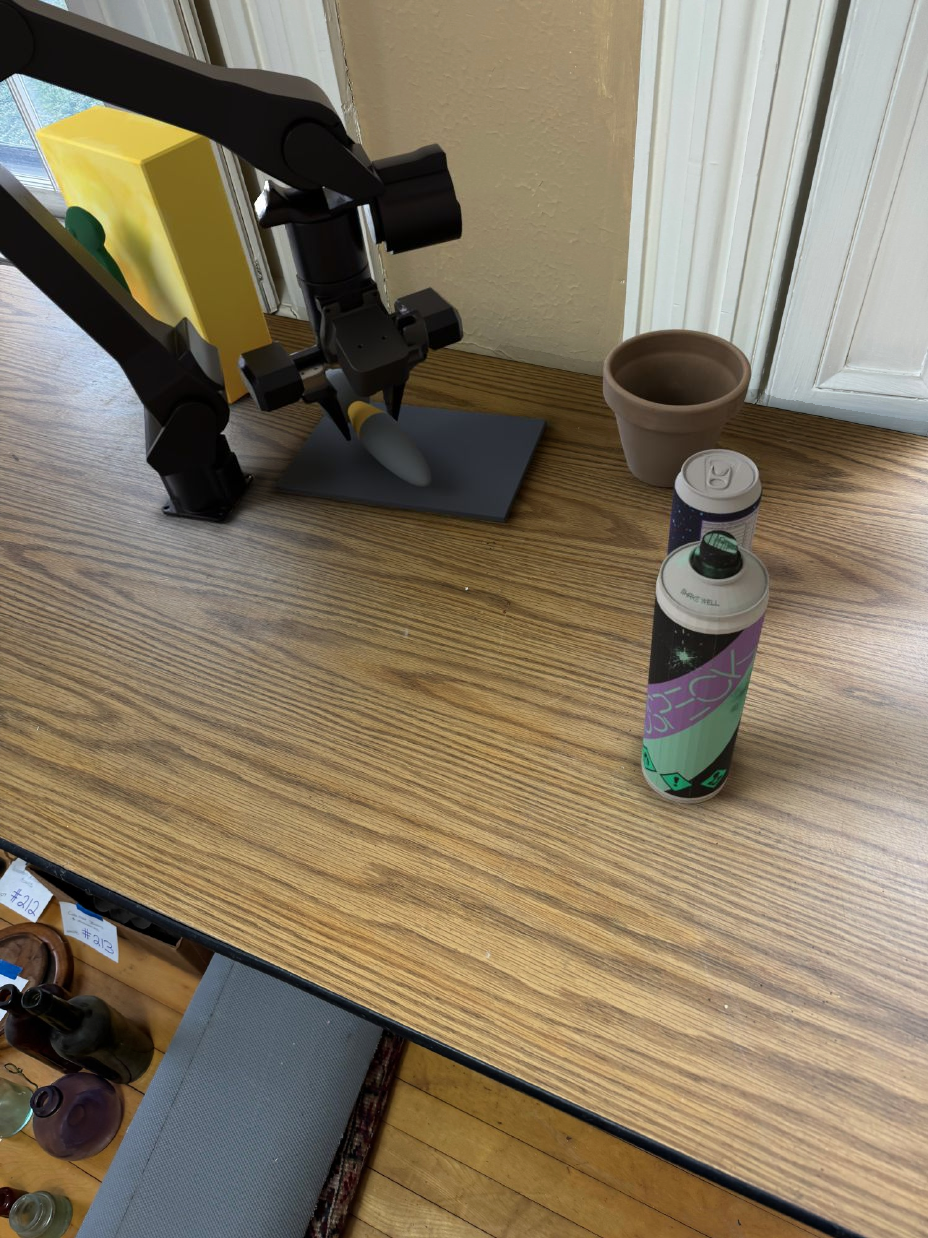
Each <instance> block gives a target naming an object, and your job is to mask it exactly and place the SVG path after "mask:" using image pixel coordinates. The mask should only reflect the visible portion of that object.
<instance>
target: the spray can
mask: <svg viewBox="0 0 928 1238" xmlns="http://www.w3.org/2000/svg"><path fill="white" fill-rule="evenodd" d="M770 585H771V582H770V575H769V571H768V569H767V567H766V565H765V564H764V562H763V561H762V560H761V559H760V558H759V557H758V556H757V555H756V554H754V553H753V552H752V551H751V552H750V551H748V550H747V549H745V548H743V547H740V546H738V543H737V540H736V539H735V537H734V536H733V535H732V534H730V533H729V532H726V531H722V530H714V531H710V532H708V533H706V534H705V535H704V536H703V538H702V541H697V542H693V543H688V544H686V545H683V546H681V547H679V548H677V549H676V550H674V551H672V552H671V553H670V554H669V555H668V556H667V555H666V556H665V559H664V560H663V561H662V563H661V566H660V568H659V573H658V576H657V579H656V584H655V594H654V605H653V606H654V609H653V617H652V618H653V619H652V630H651V643H650V644H651V645H650V654H649V665H648V675H647V676H648V677H647V678H648V679H647V689H646V702H645V714H644V724H643V725H644V726H643V734H642V736H643V737H642V746H641V747H642V748H641V759H640V760H641V762H640V763H641V771H642V774H643V776H644V779H645V781H646V783H647V784H648V785H649V787H650V788H651V789H652V790H653V791H654V792H655V793H657V794H658V795H659V796H661V797H663V798H664V799H667V800H669V801H671V802H675V803H680V804H688V805H689V804H699V803H702V802H706V801H708V800H711V799H712V798H714V797H715V796H716V795H717V794H719V793H720V791H722V789H723V788H724V786H725V784H726V783H727V779H728V777H729V772H730V769H731V763H732V759H733V754H734V751H735V746H736V742H737V738H738V733H739V729H740V725H741V720H742V716H743V711H744V707H745V703H746V699H747V694H748V690H749V687H750V686H749V685H750V682H751V678H752V673H753V668H754V664H755V659H756V655H757V651H758V647H759V643H760V638H761V634H762V630H763V626H764V622H765V616H766V613H767V609H768V603H769V601H770V600H769V599H770Z"/></svg>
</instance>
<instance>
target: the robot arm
mask: <svg viewBox="0 0 928 1238" xmlns="http://www.w3.org/2000/svg"><path fill="white" fill-rule="evenodd" d="M15 75H20V76H25V77H27V78H31V79H34V80H36V81H40V82H43V83H46V84H49V85H51V86H55V87H56V88H57V87H58V88H60V89H64V90H67V91H70V92H73V93H75V94H79V95H81V96H83V97H84V96H85V97H87V98H90V99H93V100H95V101H96V100H97V101H99V102H101V103H102V102H103V103H105V104H108V105H111V106H113V107H117V108H120V109H123V110H126V111H128V112H130V113H131V112H132V113H133V114H136V115H141V116H145V117H149V118H152V119H155V120H158V121H161V122H164V123H167V124H170V125H173V126H176V127H179V128H182V129H185V130H188V131H191V132H194V133H197V134H200V135H203V136H205V137H207V138H209V139H210V141H212V142H214V143H216V144H218V145H220V146H221V147H223V148H225V149H226V150H228V151H229V152H231V153H232V154H234V155H235V156H237V158H239V159H241V160H242V161H243V162H245V163H247V164H248V165H249V166H251V167H252V168H255V169H256V170H257V171H260V172H262V173H263V174H266V175H267V176H270V177H271V178H273V179H275V180H277V181H279V182H280V183H282V184H284V185H286V186H288V187H284V186H281V185H279V184H277V183H275V181H274V180H272V179H267V180H266V181H265V185H264V189H263V191H262V192H261V194H260V195H259V197H257V200H256V201H255V202H254V203H253V210H254V214H255V217H256V221H257V223H258V226H259V228H261V229H263V230H266V229H270V228H271V229H272V228H275V227H279V226H283V227H284V229H285V234H286V237H287V238H286V239H287V241H288V245H289V248H290V253H291V256H292V260H293V264H294V268H295V271H296V274H295V277H296V281H297V284H298V287H299V288H300V291H301V294H302V298H303V302H304V305H305V309H306V312H307V317H308V326H309V330H310V333H311V334H312V335H313V339H314V343H315V345H312V346H310V347H307V348H304V349H301V350H299V351H296V352H292V353H291V354H289V353H288V351H287V350H286V348H284V346H283V345H282V343H281V342H280V341H279V340H277V341H274V342H272V343H271V344H268V345H265V346H262V347H259V348H257V349H254V350H251V351H248V352H245V353H242V354H241V355H240V358H239V360H238V363H237V366H238V369H239V372H240V375H241V378H242V381H243V383H244V385H245V386H246V388H247V390H248V391H249V392H248V393H249V394H250V396H251V398H252V399H253V401H254V403H255V404H256V405H257V407H258V409H259V410H260V412H263V413H272V412H275V411H277V410H279V409H282V408H285V407H288V406H290V405H293V404H295V403H299V402H300V400H301V402H302V403H303V404H304V405H305V404H306V405H311V404H314V403H317V404H318V405H319V404H320V405H321V406H322V407H323V408H324V409H325V410H326V411H327V413H328V414H329V416H330V417H331V418H332V420H333V421H334V423H335V424H336V426H337V427H338V429H339V430H340V431H341V433H342V434H343V436H344V437H345V439H346V440H347V441H350V440H351V435H350V430H349V426H348V424H347V421H346V419H345V416H344V414H343V411H342V409H341V406H340V403H339V401H338V398H337V390H336V389H335V387H334V386H333V385H332V383H331V382H330V381H329V380H328V378H327V377H326V373H325V372H326V371H327V369H328V368H329V369H330V368H332V367H334V366H337V365H338V366H339V367H340V369H342V371H343V372H344V374H345V376H346V378H347V379H348V381H349V383H350V385H351V387H352V389H353V391H354V393H355V394H357V395H358V396H360V397H370V398H371V397H372V396H375V395H376V394H377V393H379V392H382V396H383V401H384V402H383V403H385V406H386V409H387V412H388V414H389V415H390V416H391V417H392V418H393V419H394V420H396V421H397V422H398V417H399V413H400V408H401V405H402V403H403V398H404V393H405V389H406V384H407V382H408V380H409V379H410V372H411V371H412V370H413V369H414V368H415V367H417V366H418V365H419V364H422V363H424V362H425V361H427V358H428V353H429V352H430V351H429V350H431V351H435V352H436V351H438V350H441V349H443V348H446V347H449V346H451V345H453V344H454V345H455V344H456V343H459V342H462V340H463V338H464V337H465V336H464V335H465V334H464V327H463V320H462V316H461V315H460V312H459V310H458V309H457V308H456V306H454V304H452V303H451V302H450V301H449V300H448V299H446V298H445V297H444V296H443V295H442V294H441V293H440V292H439V291H437V290H436V289H434V288H433V287H431V286H430V287H427V288H424V289H421V290H418V291H416V292H415V291H414V292H412V293H410V294H407V295H404V296H401V297H398V298H396V299H395V300H394V303H393V308H394V312H391V313H390V312H389V311H388V309H387V307H386V305H385V304H384V301H382V297H381V292H380V291H379V287H378V282H376V281H375V280H374V279H373V277H372V272H371V267H370V261H369V258H368V252H367V246H366V242H365V237H364V233H363V227H362V221H361V217H360V213H359V207H362V206H363V210H364V215H365V220H366V223H367V224H366V225H367V228H368V231H369V234H370V237H371V240H372V243H373V244H374V246H377V245H381V244H384V248H385V251H386V253H389V254H390V256H395V255H399V254H404V253H408V252H411V251H415V250H420V249H423V248H424V249H425V248H428V247H432V246H436V245H440V244H445V243H448V242H449V243H450V242H453V241H457V240H460V239H461V238H462V235H463V216H462V215H463V214H462V207H461V203H460V202H459V200H458V199H457V195H456V190H455V185H454V182H453V177H452V176H451V173H450V170H449V166H448V159H447V153H446V152H445V150H444V149H443V148H442V146H441V145H440V144H438V142H437V143H432V144H428V145H423V146H421V147H419V148H417V149H415V150H412V151H409V152H405V153H401V154H397V155H392V156H388V157H384V158H379V159H374V160H371V159H370V158H369V155H368V154H367V152H366V151H365V148H363V145H362V144H361V143H359V142H356V141H355V140H354V139H353V138H352V137H351V136H350V135H349V134H348V131H347V130H346V127H345V125H344V123H343V121H342V119H341V118H340V117H341V116H340V115H339V114H338V112H337V110H336V109H335V107H334V105H333V103H332V101H331V100H330V98H329V97H328V95H327V93H326V92H325V91H324V90H323V89H322V87H320V86H319V85H318V84H317V83H316V82H314V81H312V80H311V79H309V78H307V77H303V76H300V75H293V74H289V73H283V72H277V71H272V70H266V69H261V68H243V67H241V68H240V67H227V66H222V65H221V66H220V65H215V64H211V63H207V62H205V61H203V60H200V59H198V58H194V57H193V56H190V55H186V54H183V53H181V52H179V51H177V50H173V49H170V48H168V47H166V46H163V45H159V44H157V43H155V42H152V41H150V40H147V39H144V38H142V37H140V36H135V35H134V34H131V33H128V32H127V31H126V32H125V31H123V30H120V29H118V28H114V27H113V26H109V25H107V24H104V23H101V22H98V21H96V20H93V19H91V18H88V17H86V16H83V15H81V14H78V13H75V12H72V11H70V10H67V9H64V8H62V7H59V6H56V5H54V4H52V3H49V2H46V1H44V0H0V84H1V83H3V82H4V81H6V80H7V79H10V78H11V77H13V76H15ZM0 255H2V256H3V257H4V258H5V259H6V260H7V262H9V263H10V264H12V266H13V267H14V268H15V269H16V270H17V271H19V272H20V273H21V274H22V275H23V276H24V277H25V278H26V279H27V280H29V282H31V283H32V284H33V285H34V286H35V287H36V288H37V289H38V290H39V291H40V292H41V293H42V294H44V296H45V297H47V298H48V299H49V300H50V301H51V302H52V303H53V304H54V305H55V306H56V307H58V309H59V310H61V312H63V313H64V315H66V316H67V317H68V318H69V319H70V320H71V321H72V322H73V323H74V324H76V326H78V327H79V328H80V329H81V330H82V331H83V332H84V333H86V335H88V336H89V337H90V338H91V339H92V340H93V342H95V343H96V344H97V345H98V346H99V347H100V348H101V349H102V350H103V351H104V352H106V353H107V354H108V355H109V356H110V357H111V358H112V359H113V360H114V361H115V362H116V363H117V364H118V366H119V367H120V368H121V369H122V372H123V373H124V375H125V377H126V378H127V380H128V382H129V384H130V386H131V387H132V389H133V391H134V392H135V394H136V396H137V398H138V399H139V400H140V403H141V404H142V406H143V423H144V426H143V427H144V443H145V445H144V446H145V461H146V463H147V464H148V465H149V466H150V467H151V469H153V470H154V471H155V472H156V473H157V474H158V476H159V477H160V480H161V482H162V484H163V486H164V488H165V490H166V493H167V494H168V496H169V498H168V499H167V500H166V502H165V503H164V505H163V506H162V507H161V512H162V514H163V515H165V516H170V517H178V518H185V519H190V520H198V521H203V522H209V523H217V524H221V523H223V522H225V521H226V520H227V518H228V517H229V515H230V514H231V513H232V511H233V510H234V509H235V507H236V506H237V504H238V503H239V502H240V500H241V499H242V497H243V496H244V495H245V493H246V492H247V490H248V489H249V488H250V486H251V485H252V483H253V482H254V480H255V478H254V475H253V473H249V472H244V471H243V469H242V468H241V465H240V462H239V460H238V457H237V454H236V453H235V451H232V450H231V447H230V444H229V442H228V440H227V437H226V434H224V433H223V432H224V431H225V430H226V428H227V426H228V424H229V423H230V415H231V414H230V413H231V409H230V403H228V397H227V392H226V386H225V380H224V375H223V370H222V367H221V362H220V356H219V350H218V348H217V347H215V346H213V345H211V344H209V343H208V342H207V341H205V340H204V339H203V338H202V337H201V336H200V334H199V333H198V332H197V330H196V329H195V327H194V326H193V324H192V323H191V322H190V320H189V319H188V318H187V317H183V318H182V320H181V321H180V322H179V323H178V324H177V325H176V326H175V327H173V326H170V325H168V324H166V323H164V322H162V321H159V320H157V319H155V318H154V317H153V316H151V315H150V314H149V313H148V312H147V311H146V310H145V309H144V308H143V307H142V306H141V305H140V304H139V303H138V302H137V301H136V300H135V299H134V298H133V297H132V296H131V295H130V294H129V293H128V292H127V291H126V290H125V289H124V288H123V287H122V286H121V284H120V283H119V282H118V281H117V280H116V279H115V278H114V277H113V276H112V275H111V274H110V273H109V272H108V271H107V270H106V269H105V268H104V267H103V266H102V265H101V264H100V263H99V262H98V261H97V260H96V259H95V258H94V257H93V256H92V255H91V254H90V253H89V252H88V251H87V250H86V249H85V248H84V247H83V246H82V245H81V244H80V243H79V242H78V241H77V240H76V238H75V237H74V236H73V235H72V234H71V233H70V232H69V231H68V230H67V229H66V228H65V225H63V224H62V223H61V222H60V221H59V220H58V219H57V217H56V216H54V215H53V214H52V213H51V212H50V211H49V210H48V208H47V207H45V206H44V204H43V203H41V202H40V201H39V199H37V198H36V196H35V195H34V194H32V192H31V191H30V190H29V189H28V188H27V187H26V186H25V185H24V184H23V183H22V182H21V181H20V179H18V177H16V176H15V175H14V174H13V173H12V172H11V171H10V170H9V169H8V167H6V166H5V165H4V163H2V161H1V160H0Z"/></svg>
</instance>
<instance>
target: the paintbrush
mask: <svg viewBox="0 0 928 1238" xmlns="http://www.w3.org/2000/svg"><path fill="white" fill-rule="evenodd" d="M325 373H326V377H327V378H328V380H329V381H330V382H331V383H332V385H333V386H334V387H335V389H336V390H337V398H338V401H339V403H340V406H341V409H342V411H343V414H344V416H345V419H346V421H347V423H352V425H353V427H354V430H355V432H356V434H357V436H358V438H359V440H360V442H361V443H362V445H363V446H364V447H365V448H366V449H367V450H368V452H369V453H370V454H371V455H372V456H373V457H374V458H375V459H377V460H378V461H379V462H380V463H381V464H382V465H383V466H385V467H386V468H387V469H389V470H390V471H391V472H392V473H394V474H395V475H397V476H398V477H400V478H402V479H403V480H405V481H407V482H409V483H411V484H413V485H416V486H419V487H427V486H429V485H430V484H431V473H430V470H429V467H428V465H427V463H426V461H425V459H424V457H423V455H422V454H421V452H420V451H419V449H418V447H417V446H416V444H415V443H414V442H413V440H412V439H411V438H410V436H409V435H408V434H407V433H406V431H405V430H404V429H403V428H402V427H401V426H400V425H399V424H398V422H397V421H396V420H394V419H393V418H392V417H391V416H390V415H389V414H387V413H386V412H384V411H382V410H380V409H378V408H376V407H374V406H372V405H369V404H370V402H371V396H370V397H360V396H358V395H357V394H355V393H354V391H353V389H352V387H351V385H350V383H349V381H348V379H347V378H346V376H345V374H344V372H343V371H342V369H341V368H334V369H332V368H329V369H328V370H327V369H326V370H325ZM318 407H319V408H320V411H321V412H322V413H323V416H324V415H325V416H326V417H327V418H329V419H330V420H332V418H331V417H330V416H329V414H328V413H327V411H326V410H325V409H324V408H323V407H322V406H321V405H320V404H318ZM332 421H333V420H332Z"/></svg>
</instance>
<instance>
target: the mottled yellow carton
mask: <svg viewBox="0 0 928 1238" xmlns="http://www.w3.org/2000/svg"><path fill="white" fill-rule="evenodd" d="M34 135H35V137H36V139H37V141H38V143H39V146H40V148H41V151H42V152H43V155H44V158H45V159H46V162H47V164H48V166H49V168H50V170H51V173H52V175H53V177H54V179H55V182H56V184H57V186H58V188H59V191H60V192H61V195H62V197H63V199H64V201H65V204H66V207H67V210H66V211H65V214H64V215H65V216H64V227H65V228H66V229H67V230H68V231H69V232H70V233H71V234H72V235H73V236H74V237H75V238H76V240H77V241H78V242H79V243H80V244H81V245H82V246H83V247H84V248H85V249H86V250H87V251H88V252H89V253H90V254H91V255H92V256H93V257H94V258H95V259H96V260H97V261H98V262H99V263H100V264H101V265H102V266H103V267H104V268H105V269H106V270H107V271H108V272H109V273H110V274H111V275H112V276H113V277H114V278H115V279H116V280H117V281H118V282H119V283H120V284H121V286H122V287H123V288H124V289H125V290H126V291H127V292H128V293H129V294H130V295H131V296H132V297H133V298H134V299H135V300H136V301H137V302H138V303H139V304H140V305H141V306H142V307H143V308H144V309H145V310H146V311H147V312H148V313H149V314H150V315H151V316H153V317H154V318H155V319H157V320H159V321H162V322H164V323H166V324H168V325H170V326H173V327H175V326H176V325H177V324H178V323H179V322H180V321H181V320H182V318H183V317H187V318H188V319H189V320H190V322H191V323H192V324H193V326H194V327H195V329H196V330H197V332H198V333H199V334H200V336H201V337H202V338H203V339H204V340H205V341H207V342H208V343H209V344H211V345H213V346H215V347H217V348H218V350H219V356H220V362H221V367H222V370H223V375H224V380H225V386H226V392H227V397H228V403H229V404H233V403H235V402H236V401H237V400H239V399H241V398H242V397H244V396H245V395H247V394H248V393H249V391H248V390H247V388H246V386H245V385H244V383H243V381H242V378H241V375H240V372H239V369H238V366H237V363H238V360H239V358H240V355H241V354H242V353H245V352H248V351H251V350H254V349H257V348H259V347H262V346H265V345H268V344H271V343H273V340H272V338H271V334H270V331H269V330H270V329H269V327H268V324H267V321H266V317H265V315H264V312H263V308H262V305H261V302H260V301H261V300H260V298H259V294H258V291H257V289H256V286H255V282H254V278H253V275H252V272H251V268H250V265H249V262H248V259H247V256H246V253H245V249H244V246H243V243H242V240H241V237H240V236H241V235H240V234H239V230H238V227H237V224H236V220H235V217H234V214H233V210H232V208H231V204H230V200H229V198H228V194H227V190H226V188H225V185H224V181H223V178H222V175H221V173H220V172H221V171H220V169H219V165H218V162H217V159H216V155H215V152H214V149H213V146H212V143H211V139H209V138H207V137H205V136H203V135H200V134H197V133H194V132H191V131H188V130H185V129H182V128H179V127H176V126H173V125H170V124H167V123H164V122H161V121H158V120H155V119H152V118H149V117H146V116H143V115H140V114H137V113H133V112H132V113H131V112H129V111H124V110H120V109H116V108H111V107H107V106H103V105H99V104H96V105H94V106H91V107H90V108H87V109H83V110H82V111H80V112H77V113H75V114H72V115H70V116H68V117H65V118H63V119H61V120H58V121H56V122H53V123H51V124H48V125H46V126H44V127H41V128H39V129H36V130H35V132H34Z"/></svg>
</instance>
